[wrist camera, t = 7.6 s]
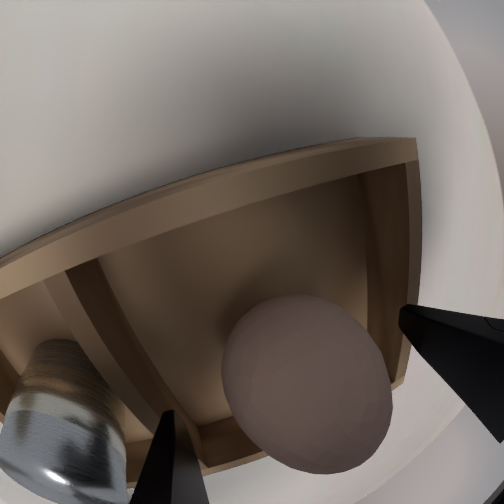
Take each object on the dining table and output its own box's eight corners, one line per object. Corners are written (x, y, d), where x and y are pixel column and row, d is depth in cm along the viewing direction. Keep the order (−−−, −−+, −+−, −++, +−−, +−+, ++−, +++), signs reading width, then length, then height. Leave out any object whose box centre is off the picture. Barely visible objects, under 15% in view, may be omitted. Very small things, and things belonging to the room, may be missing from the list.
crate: (89, 448, 12) (87, 489, 9) (-39, 281, 7) (-75, 315, 4) (370, 351, 16) (403, 382, 13) (357, 137, 11) (415, 138, 8)
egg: (303, 242, 11) (453, 354, 4) (330, 331, 13) (424, 433, 7) (182, 306, 10) (227, 493, 4) (237, 382, 13) (295, 512, 6)
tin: (69, 418, 10) (60, 509, 5) (12, 350, 8) (-29, 445, 3) (144, 403, 11) (156, 510, 6) (90, 325, 9) (59, 450, 4)
